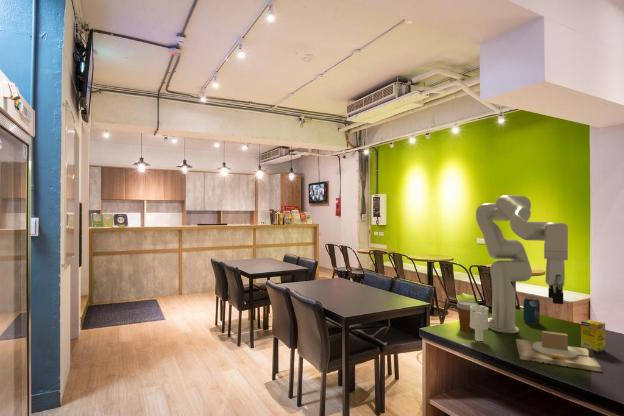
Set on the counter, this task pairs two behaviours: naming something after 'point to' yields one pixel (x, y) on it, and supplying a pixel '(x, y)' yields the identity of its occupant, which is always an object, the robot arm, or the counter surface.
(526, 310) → the soda can
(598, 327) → the supplement box
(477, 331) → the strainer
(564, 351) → the dial
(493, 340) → the counter surface
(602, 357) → the counter surface
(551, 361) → the level stand
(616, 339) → the counter surface
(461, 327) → the disposable coffee cup
